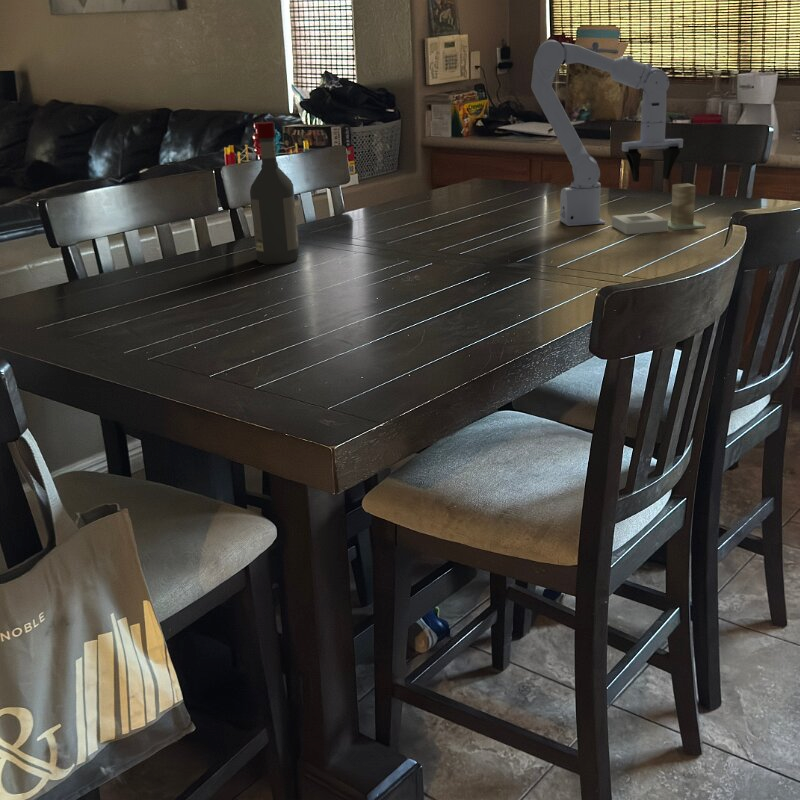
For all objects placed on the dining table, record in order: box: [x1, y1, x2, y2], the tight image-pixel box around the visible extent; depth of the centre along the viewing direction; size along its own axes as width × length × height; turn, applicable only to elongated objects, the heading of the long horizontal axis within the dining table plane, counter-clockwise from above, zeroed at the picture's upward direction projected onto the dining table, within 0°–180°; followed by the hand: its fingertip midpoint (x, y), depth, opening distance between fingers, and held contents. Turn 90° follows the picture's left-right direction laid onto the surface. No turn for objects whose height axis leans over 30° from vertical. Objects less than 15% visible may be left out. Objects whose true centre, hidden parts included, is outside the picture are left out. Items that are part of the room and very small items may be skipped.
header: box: [611, 212, 669, 235], centre depth 235 cm, size 10×10×2 cm
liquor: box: [249, 121, 300, 265], centre depth 219 cm, size 9×9×30 cm
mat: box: [667, 219, 707, 231], centre depth 236 cm, size 8×9×1 cm
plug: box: [670, 182, 697, 225], centre depth 234 cm, size 4×4×9 cm
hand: (650, 179), depth 239 cm, fingers open, 7 cm apart
